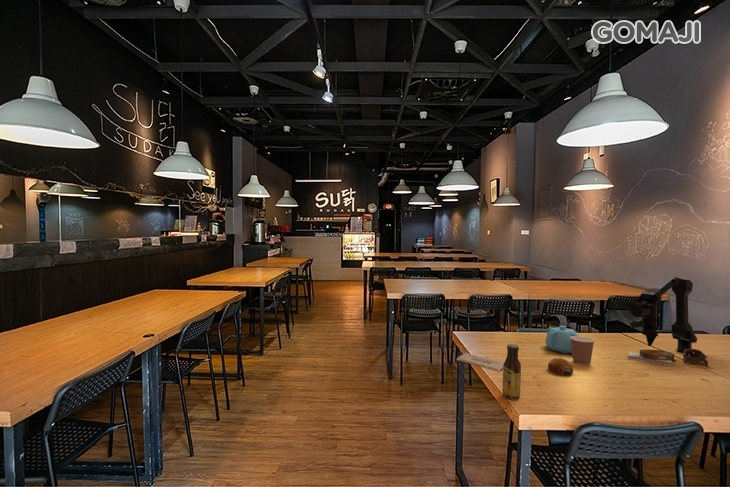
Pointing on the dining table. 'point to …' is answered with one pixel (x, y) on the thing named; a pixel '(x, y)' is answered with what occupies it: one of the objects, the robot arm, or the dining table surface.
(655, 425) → the dining table surface
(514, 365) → the sauce bottle
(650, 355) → the tin
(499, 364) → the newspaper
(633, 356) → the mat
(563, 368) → the bread roll
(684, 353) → the pottery mug
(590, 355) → the coffee cup
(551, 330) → the decorative pot
